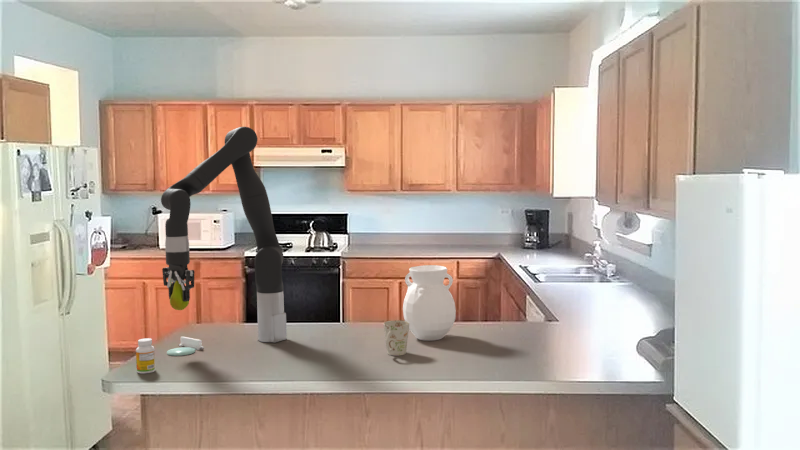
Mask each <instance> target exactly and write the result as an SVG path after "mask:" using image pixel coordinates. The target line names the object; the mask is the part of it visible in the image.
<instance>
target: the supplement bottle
mask: <svg viewBox="0 0 800 450" xmlns="http://www.w3.org/2000/svg"><path fill="white" fill-rule="evenodd" d="M137 346H138V347H136V349H135V360H136V361H135V362H136V373H138V374H142V375H143V374H151V373H153V372H156V349H155V346H153V339H152V338H151V337H148V338H147V337H145V338H140V339H138V340H137Z"/></svg>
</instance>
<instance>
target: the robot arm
mask: <svg viewBox="0 0 800 450" xmlns="http://www.w3.org/2000/svg"><path fill="white" fill-rule="evenodd" d="M257 144H258V135H257V133H256V132H255V130H254V129H252V128H251V127H248V126H239V127H237V128H234V129H232V130H230V131H228V132H227V133H226V135H225V136H224V145H223V146H222V147H221V148H220V149H218V150H217V151H216V152H215V153H213V154H212V155H210V156H209V157H208V158H206V159H205V160H203V161H202V162H200V163H199V164H198V165H197V166H195V167H194V168H193V169H192V170H191V171H190V172H188V174H186V175H185V176H184V177H183V178H182V179H179V180H178V181H176V182H175V183H174V184H172V185H171V186H169V187H168V188H167V189H165V190H164V191H163V193H162V195H161V197H160V203H161V205H162V207H163V208H165V209H166V210H169V218H167V219H166V220H165V240H164V241H165V243H164V244H165V245H164V246H165V247H164V248H165V251H164V252H165V264H166V265H167V266H168V267H167V266H166V267H163V268H162V269H161V270H162V271H161V272H162V280H163V287H164V286H166V288H167V289H168V300H170V297H171V295H172V293H173V288H174V284H175V281H176V280H177V281H178V282H179V284H181V286H182V289H183V290H182V294H183V301H185V302H186V301H189V302H190V299H191V294H190V291H191V289H194V288H195V272H196V271H195V269H189V267H188V265H189V264H190V262H191V260H190V241H189V229H188V227H189V226H188V222H189V217H190V210H191V204H192V203H191V198H190V197H192V196H194V195H198V194H200V193H201V192H202V191H203V190H205V188H207V187H208V186H209V185H210V184H211V183H212V182H213V181H214V180H215V179H216V178H217V177H219V176H220V175H221V174H222V173H223V172H225V170H226V169H227V168H228V167H229V166H232V169H233V173H234V176H235V180H236V184H237V188H238V192H239V198H240V201H241V204H242V209H243V212H244V215H245V217H246V220H247V222H248V224H249V225H250V227H251V230H252V232H253V235H254V238H255V242H256V249H257V252H256V254H255V256H254V276H255V277H254V278H255V279H254V280H255V286H256V302H257V303H256V305H257V307H256V310H257V339H258V340H257V341H259V342H261V343H278V342H281V341H284V340H287V337H288V334H287V313H286V312H285V305H284V304H285V303H284V302H285V301H284V296H285V295H284V283H283V277H282V276H283V273H282V272H283V270H282V268H283V267H282V265H283V263H284V259H285V257H284V252H283V250H282V247H281V245H280V243H279V239H278V236H277V234H276V231H275V226H274V220H273V214H272V209H271V206H270V200H269V197H268V192H267V189H266V187H265V185H264V182H262V180H261V178H260V176H259V175H258V173H257V172H256V170H255V167H254V165H253V161H252V159H251V152H253V150H255V148H256V146H257Z"/></svg>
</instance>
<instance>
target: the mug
mask: <svg viewBox="0 0 800 450" xmlns="http://www.w3.org/2000/svg"><path fill="white" fill-rule="evenodd" d="M383 332H384V338H385V348H386V352H387V354H388V356H389V355H390V356H395V357H396V356H403V355H406V354H407V350H408V349H407V347H408V340H409V339H408V338H409V333H410V330H409V322H407V321H405V320H389V321H384V322H383Z"/></svg>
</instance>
